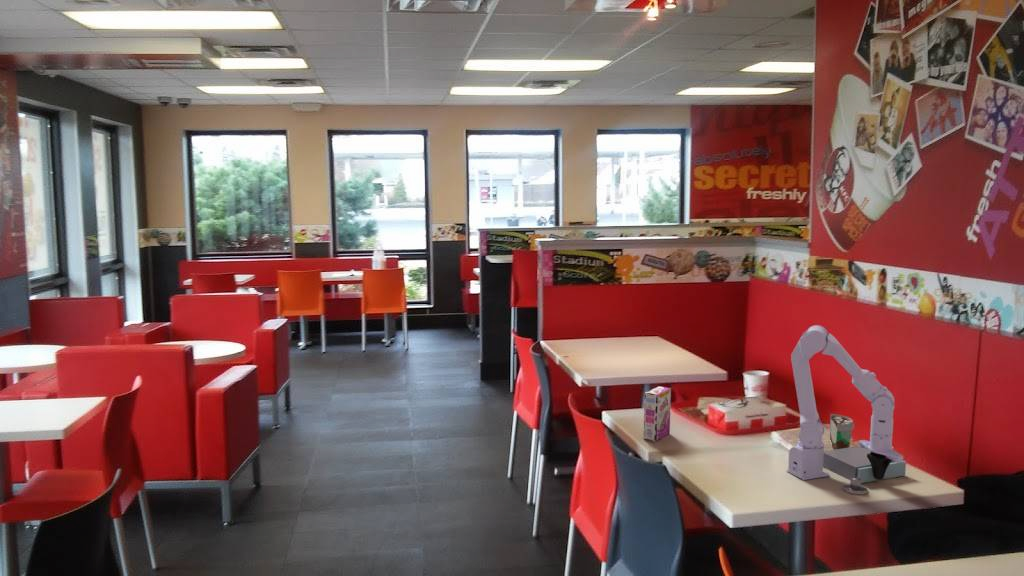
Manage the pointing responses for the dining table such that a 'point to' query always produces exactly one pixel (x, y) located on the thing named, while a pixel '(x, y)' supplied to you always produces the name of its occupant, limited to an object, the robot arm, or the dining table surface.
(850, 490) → the disc stand
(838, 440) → the food container
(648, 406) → the candy bar box
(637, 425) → the dining table surface
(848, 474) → the cabinet
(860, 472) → the drawer
